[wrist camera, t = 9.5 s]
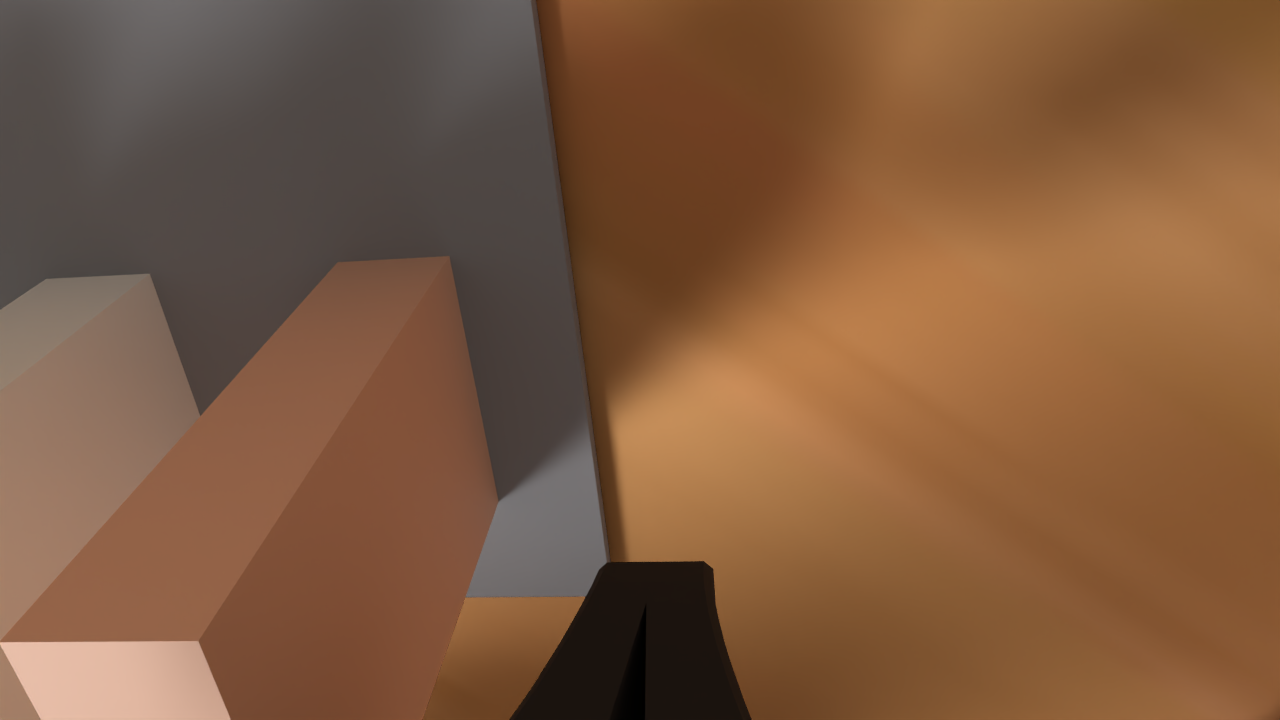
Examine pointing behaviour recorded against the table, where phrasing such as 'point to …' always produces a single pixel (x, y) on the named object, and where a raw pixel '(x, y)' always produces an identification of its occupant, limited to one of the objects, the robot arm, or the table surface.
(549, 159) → the mat
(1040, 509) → the table surface
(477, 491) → the domino
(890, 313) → the table surface
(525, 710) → the robot arm
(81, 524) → the domino
